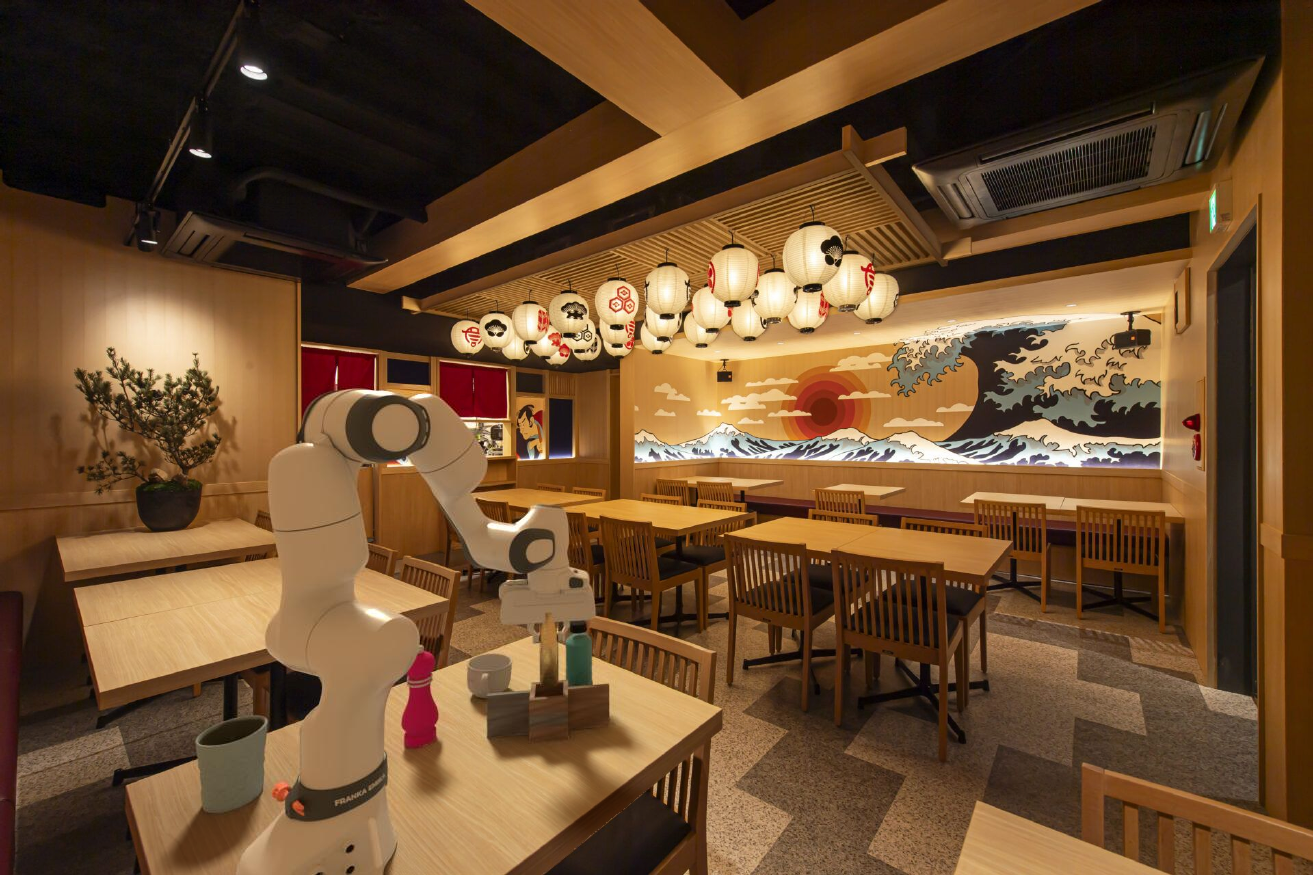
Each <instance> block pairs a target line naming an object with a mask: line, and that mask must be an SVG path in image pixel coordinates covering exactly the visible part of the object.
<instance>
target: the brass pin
mask: <svg viewBox="0 0 1313 875" xmlns="http://www.w3.org/2000/svg"><path fill="white" fill-rule="evenodd" d="M538 625H539V627H538V628H539V632H538V633H539V634H540V643H539V682H540V686H541V687H544V688H550V687H554V686H556V685H558V683H559V677H560V676H559V675H560V674H559V673H560V672H559V670H560V669H559V642H558V631H559V622H553V621H552V613H545V622H544V623H538Z"/></svg>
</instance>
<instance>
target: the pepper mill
mask: <svg viewBox="0 0 1313 875" xmlns="http://www.w3.org/2000/svg"><path fill="white" fill-rule="evenodd" d="M435 666H436V659H435V656H434V655H433V654H432V653H431V652H429V651H425V647H424V645H422V644H419V649H418V653H417V656H416V659H415V661H414V663H413V664H412V666H411V668H410V669H409V670H408V671H407V673H406V674H405V675H406V676H407V678H406V681H407V682H406V686H408V690H409V691H408V692H409V694H408V700H407V702H406V706H405V708H404V710H403V712H402V716H401V723H400V726H401V728H402V730H404V733H403V744H404V745H405V747H407V748H410V749H411V748H412V749H415V748H416V749H419V748H423V747H425V746H428V745H430V744H431V743H433V742H434V741H435V740H436V738H437V727H436V725H437V723H438V721H439V718H440V717H439V716H440V714H439V709H438V706H437V704H436V702H435V700H434V698H433V694H432V689H431V685H432V684H431V683H432V682H433V681H434V680H433V670H435Z"/></svg>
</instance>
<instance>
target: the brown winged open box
mask: <svg viewBox="0 0 1313 875" xmlns="http://www.w3.org/2000/svg"><path fill="white" fill-rule="evenodd" d="M610 717H611V716H610V683H600V684H599V683H598V684H593V685H586V686H574V687H568V680H566V679H561V680H559V683H558V685H556V686H554V687H550V688H544V687H541V686H540V681H535V682H534V681H533V682H531V686H530V689H527V690H515V691H503V692H501V693H489V694H487V698H486V738H487V739H490V738H491V739H492V738H501V737H511V736H523V735H528V736H529V740H528V742H529V744H534V743H535V744H536V743H545V742H547V743H548V742H556V741H557V742H558V741H566V740H569V731H575V730H585V729H586V730H587V729H595V728H596V729H597V728H604V727H606V728H607V727H610V725H611V723H610V719H611V718H610Z"/></svg>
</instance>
